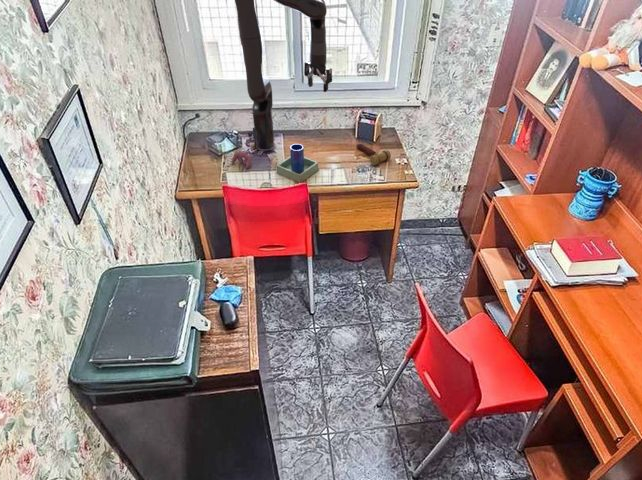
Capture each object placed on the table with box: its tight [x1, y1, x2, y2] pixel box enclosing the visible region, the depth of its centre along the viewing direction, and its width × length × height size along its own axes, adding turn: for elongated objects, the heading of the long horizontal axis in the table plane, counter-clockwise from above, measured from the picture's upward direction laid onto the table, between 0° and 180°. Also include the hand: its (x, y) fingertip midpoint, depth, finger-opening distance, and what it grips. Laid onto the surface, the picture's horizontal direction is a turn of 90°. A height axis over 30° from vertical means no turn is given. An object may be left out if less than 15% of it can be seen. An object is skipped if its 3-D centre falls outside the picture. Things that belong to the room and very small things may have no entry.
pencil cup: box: [289, 143, 305, 174], centre depth 217 cm, size 6×6×12 cm
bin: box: [275, 155, 319, 184], centre depth 220 cm, size 14×14×4 cm
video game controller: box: [231, 150, 254, 169], centre depth 223 cm, size 10×5×7 cm, turn 65°
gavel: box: [355, 143, 392, 166], centre depth 233 cm, size 21×5×10 cm
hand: (318, 88), depth 218 cm, fingers open, 8 cm apart
